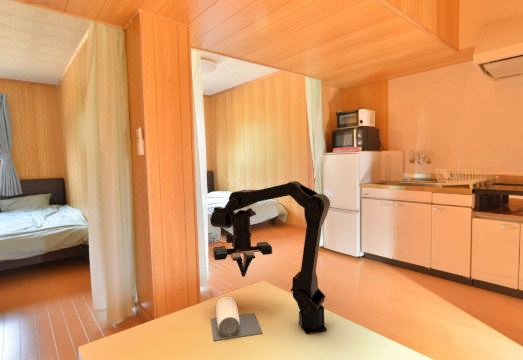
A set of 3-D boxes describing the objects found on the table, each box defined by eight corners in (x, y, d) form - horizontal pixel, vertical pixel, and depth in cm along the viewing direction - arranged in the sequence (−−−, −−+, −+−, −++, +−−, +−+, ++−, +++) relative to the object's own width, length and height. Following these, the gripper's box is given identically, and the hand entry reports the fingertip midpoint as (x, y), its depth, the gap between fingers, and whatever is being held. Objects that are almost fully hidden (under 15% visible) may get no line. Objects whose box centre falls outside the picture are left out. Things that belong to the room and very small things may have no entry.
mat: (254, 313, 100) (254, 312, 100) (262, 333, 88) (262, 332, 88) (210, 319, 97) (210, 318, 97) (213, 341, 85) (213, 340, 85)
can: (239, 310, 99) (243, 331, 88) (220, 318, 98) (222, 341, 87) (231, 292, 98) (235, 312, 87) (212, 301, 97) (214, 322, 86)
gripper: (263, 222, 110) (264, 264, 111) (210, 226, 105) (212, 271, 106) (272, 228, 99) (273, 276, 100) (213, 234, 94) (215, 283, 95)
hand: (243, 276), depth 101 cm, fingers closed
